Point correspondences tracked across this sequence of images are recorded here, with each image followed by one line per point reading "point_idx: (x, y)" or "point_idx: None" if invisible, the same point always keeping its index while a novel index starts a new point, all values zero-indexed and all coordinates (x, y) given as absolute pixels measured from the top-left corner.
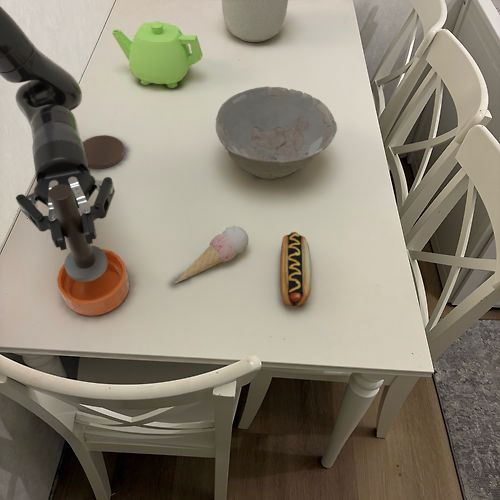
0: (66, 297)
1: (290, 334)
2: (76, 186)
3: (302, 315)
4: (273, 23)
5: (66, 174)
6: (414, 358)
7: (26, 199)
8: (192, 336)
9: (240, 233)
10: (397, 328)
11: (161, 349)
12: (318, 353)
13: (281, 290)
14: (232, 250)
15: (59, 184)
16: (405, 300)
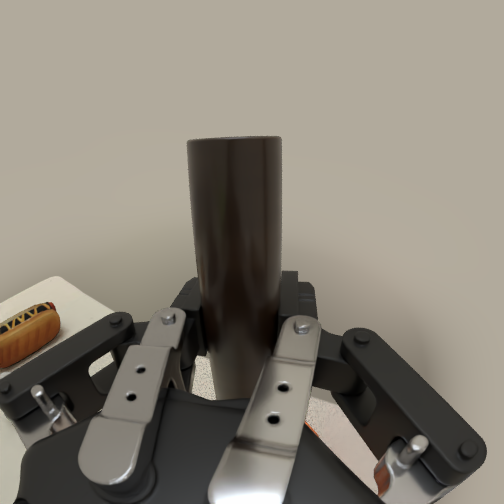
0: (311, 428)
1: (84, 318)
2: (120, 414)
3: (60, 324)
4: None
5: None
6: (53, 278)
7: (434, 437)
8: None
9: (1, 373)
10: (36, 291)
11: (200, 359)
12: (86, 301)
13: (50, 321)
14: None
15: (220, 139)
16: (12, 299)
